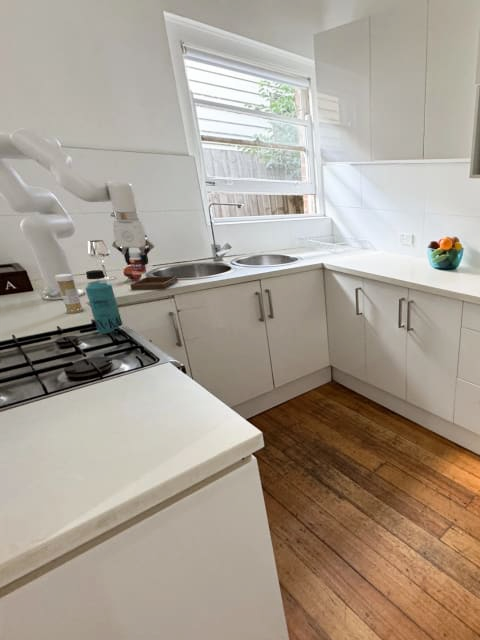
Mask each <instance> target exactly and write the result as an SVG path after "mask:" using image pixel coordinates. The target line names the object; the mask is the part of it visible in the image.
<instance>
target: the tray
mask: <svg viewBox="0 0 480 640" xmlns="http://www.w3.org/2000/svg"><path fill="white" fill-rule="evenodd" d="M178 282H179V281H178V276H145V277H143V278H140V279H139V280H138V281H135V282H132V283H131V284H130V285H129V286H130V289H131V290H130V291H154V290H155V291H158V290H159V291H160V290H161V291H163V290H166V289H168V288H169V287H171V286H173V285H175V284H176V283H178Z"/></svg>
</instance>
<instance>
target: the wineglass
mask: <svg viewBox="0 0 480 640" xmlns="http://www.w3.org/2000/svg"><path fill="white" fill-rule="evenodd" d="M87 254H88V256H89V257H90V259H92V260H94V261H96V262H98V263H99V264H100V266H101V268H102V271H103V273H104V275H105V278H101V279H98V281H111V280H112V281H113V280H115V279H116V277H113V276H108V274H107V270H106V268H105V267H106V266H105V263H106V262H107V260H108V259H109V258H110V256H111V251H110V249H109V247H108V245H107V244H106V242H105V241H104V240H103V239H95V240H88V241H87Z"/></svg>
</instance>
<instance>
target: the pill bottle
mask: <svg viewBox="0 0 480 640" xmlns="http://www.w3.org/2000/svg"><path fill="white" fill-rule="evenodd" d="M129 255H130V258H129V260H130V264H131V265H130V266H131V269H132V273H133V274H137V275H140V274H142V275H146V274H147V273H148V272H147V267H146V265H142V260H141V255H142V254H141V252H140V251H129Z"/></svg>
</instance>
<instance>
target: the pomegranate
mask: <svg viewBox="0 0 480 640" xmlns="http://www.w3.org/2000/svg"><path fill="white" fill-rule="evenodd" d="M122 272H123V276H124V277H127V279H126V280H125V283H127V282H128V281H129V280H130V281H135V282H137V281H139V280H141V279H142V276H143V274H140V275H137V274H133V273H132V269H131V265H127V266H126V267H125V268H124V269H123V271H122Z"/></svg>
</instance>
